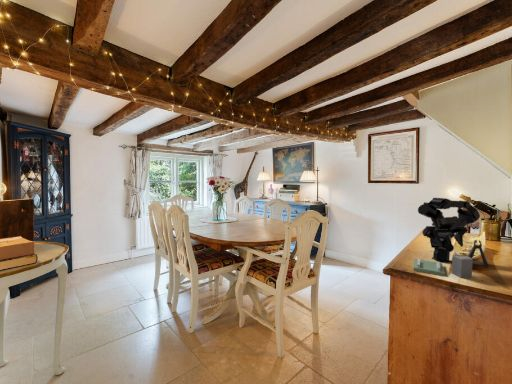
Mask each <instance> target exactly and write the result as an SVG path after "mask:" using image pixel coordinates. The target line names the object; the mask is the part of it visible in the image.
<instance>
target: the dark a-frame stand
mask: <svg viewBox="0 0 512 384" xmlns="http://www.w3.org/2000/svg"><path fill="white" fill-rule="evenodd" d="M476 243H479V244H476ZM482 244H483V243H482V241H481V240H480V239H479V240H477V239H475V240H473V245H472V246H471V248H470V251H469V252H468V254H467V256H468V257H470V258H473V257H474V255H475V253H476V250H477V249H478V250H479V253H480V256H481V259H482V261H477V260H473V263H472V265H475V266H482V267H488V268H489V267H490V266H489V262H488V260H487V258H486V255H485V252H484V250H483V247H482V246H483V245H482Z"/></svg>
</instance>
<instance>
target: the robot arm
mask: <svg viewBox="0 0 512 384" xmlns="http://www.w3.org/2000/svg"><path fill="white" fill-rule="evenodd" d="M450 208H457V210H456V212H457V215H453V216H447V217H445V216H444V212H442V210H449V209H450ZM417 212H418V214H420V215H422V216H424V217H426V218H430V220H431V222H432V223H431V225H426V226H425V228H424V229H423V230H422V235H423V236H424V237H426V238H429V242H430V246H431V248H432V249H434V250H433V255H432V256H433V257H431V259H433V260H434V261H436V262H439V263H446V262H447V263H452V261H453V260H450V256H451V254H450V253H452V252H454V248H455V247H454V245H453V243H452V239H453V238H454V240H455V241H456V243H457V244H458V245H459V246H460V247H463V246H464V238H463V236H465V234H466V233H467V232H468V231H469V230H468V228H467V225H471V224H474V223H476V222H477V221H479V219H480V217H481V214H480V212H479V210H478V209H477V208H476V207H475V206H474V205H472V203H471V202H470V201H468V200H451V199H449V198H444V197H433V198H432V199H431V200H430V201H428V202H423V203H422V204H421V205H420V206H418V208H417Z"/></svg>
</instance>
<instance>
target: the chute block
mask: <svg viewBox="0 0 512 384" xmlns="http://www.w3.org/2000/svg"><path fill="white" fill-rule="evenodd" d="M451 261H452V262H451V275H454V276H456V277H458V278H460V279H472V278H473V264H472V263H473V261H474V258H473V257H472V258H470V257H468V255H464V254H452V260H451Z"/></svg>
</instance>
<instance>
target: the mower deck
mask: <svg viewBox="0 0 512 384" xmlns="http://www.w3.org/2000/svg"><path fill="white" fill-rule="evenodd" d="M413 260H414V261H413V272H419V273H426V274H432V275H436V276H437V275H438V276H442V277H445V270H444V265H443V262H439V261H431V260H425V259H421V258H414V259H413Z"/></svg>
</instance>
